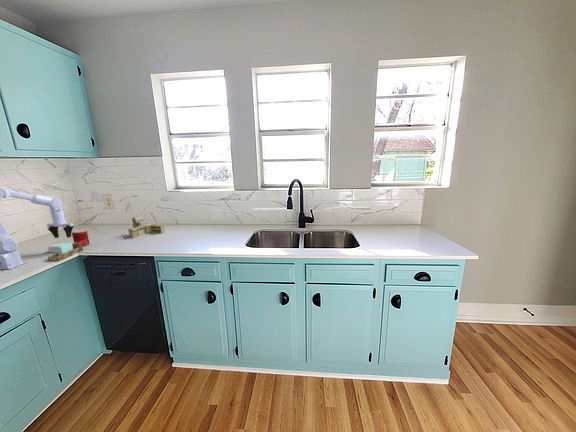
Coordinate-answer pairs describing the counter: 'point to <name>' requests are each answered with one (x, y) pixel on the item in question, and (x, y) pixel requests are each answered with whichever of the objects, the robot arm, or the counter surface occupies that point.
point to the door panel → (64, 248)
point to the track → (67, 253)
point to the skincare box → (54, 248)
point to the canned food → (81, 237)
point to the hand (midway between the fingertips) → (63, 237)
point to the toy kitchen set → (144, 228)
